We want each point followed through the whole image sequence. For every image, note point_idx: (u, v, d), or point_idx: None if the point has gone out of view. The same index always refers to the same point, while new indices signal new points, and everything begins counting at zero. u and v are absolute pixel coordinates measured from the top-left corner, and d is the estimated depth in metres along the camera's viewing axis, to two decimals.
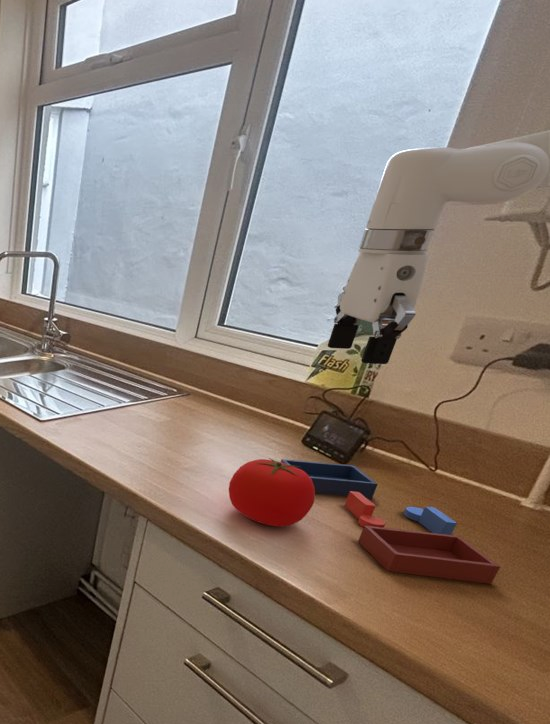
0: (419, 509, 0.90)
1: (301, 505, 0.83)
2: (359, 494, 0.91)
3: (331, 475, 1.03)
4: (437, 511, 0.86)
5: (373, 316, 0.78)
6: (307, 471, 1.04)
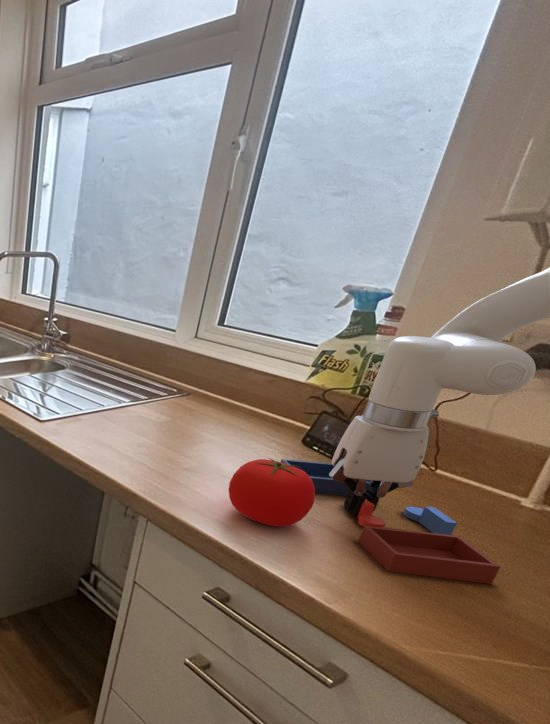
0: (419, 509, 0.90)
1: (301, 505, 0.83)
2: None
3: None
4: (437, 511, 0.86)
5: (411, 478, 0.86)
6: (307, 471, 1.04)
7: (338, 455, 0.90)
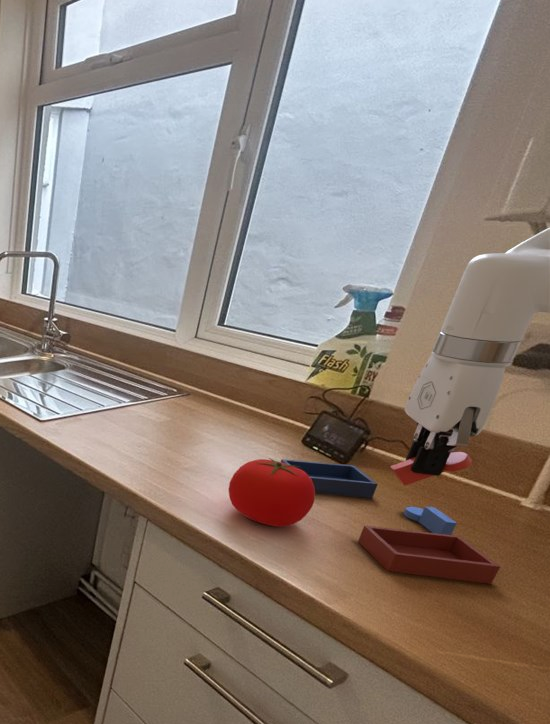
0: (419, 509, 0.90)
1: (301, 505, 0.83)
2: (400, 464, 0.79)
3: (331, 475, 1.03)
4: (437, 511, 0.86)
5: None
6: (307, 471, 1.04)
7: (459, 418, 0.70)
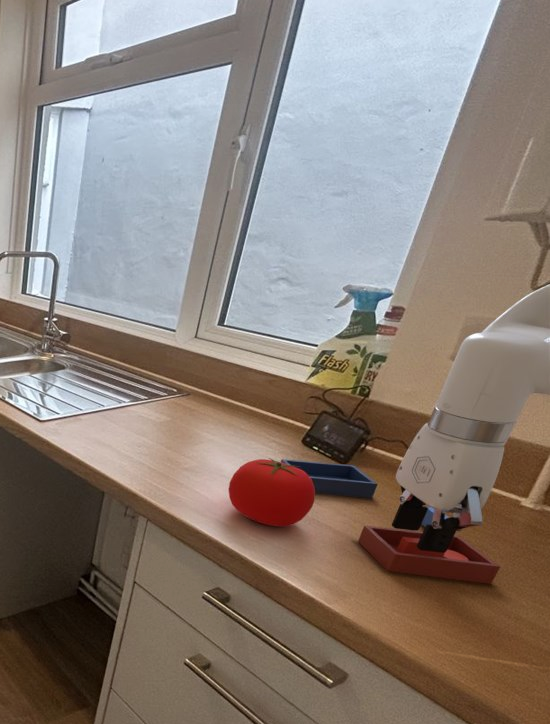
0: None
1: (301, 505, 0.83)
2: (414, 539, 0.78)
3: (331, 475, 1.03)
4: None
5: None
6: (307, 471, 1.04)
7: (462, 497, 0.70)
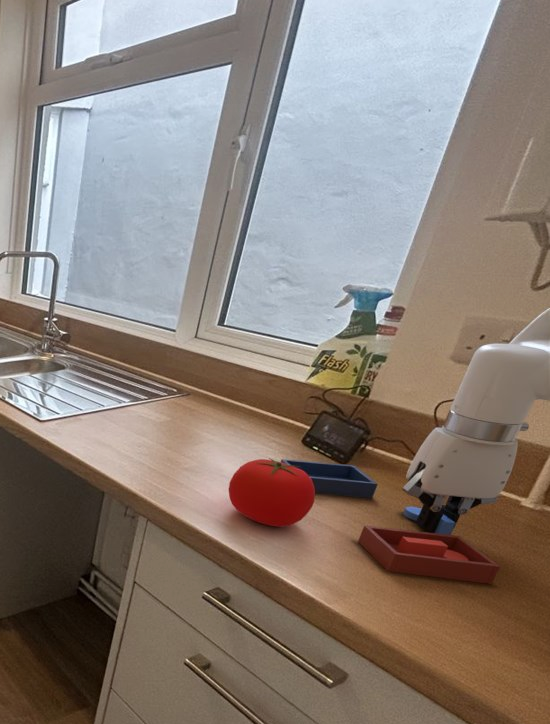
0: (419, 509, 0.90)
1: (301, 505, 0.83)
2: (414, 539, 0.78)
3: (331, 475, 1.03)
4: None
5: (495, 494, 0.81)
6: (307, 471, 1.04)
7: (414, 469, 0.85)
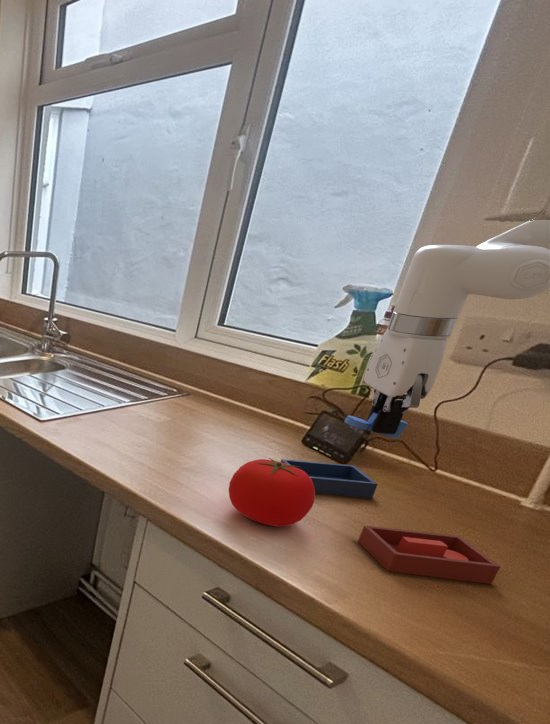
0: (352, 417, 0.93)
1: (301, 505, 0.83)
2: (414, 539, 0.78)
3: (331, 475, 1.03)
4: None
5: None
6: (307, 471, 1.04)
7: (412, 383, 0.84)
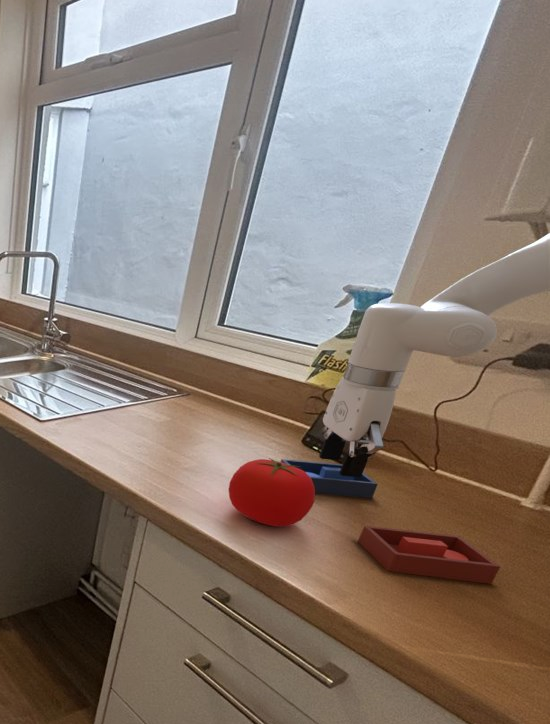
0: None
1: (301, 505, 0.83)
2: (414, 539, 0.78)
3: None
4: (332, 468, 0.99)
5: None
6: (307, 471, 1.04)
7: (366, 429, 0.91)
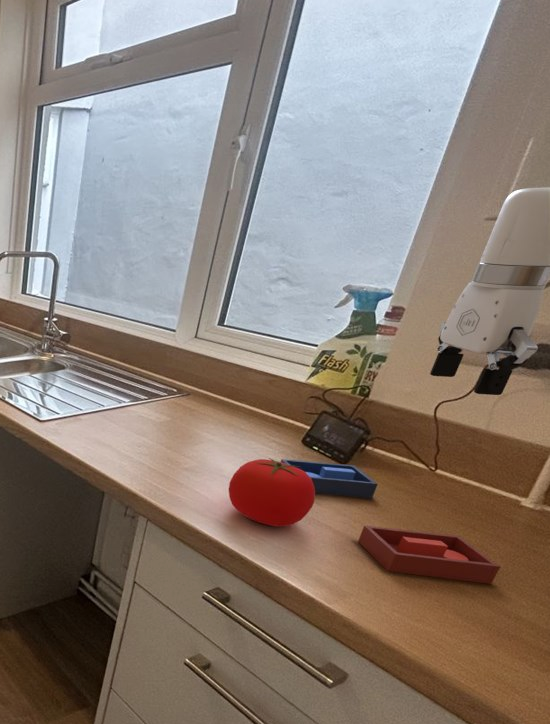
0: None
1: (301, 505, 0.83)
2: (414, 539, 0.78)
3: None
4: (332, 468, 0.99)
5: None
6: (307, 471, 1.04)
7: (505, 338, 0.78)
